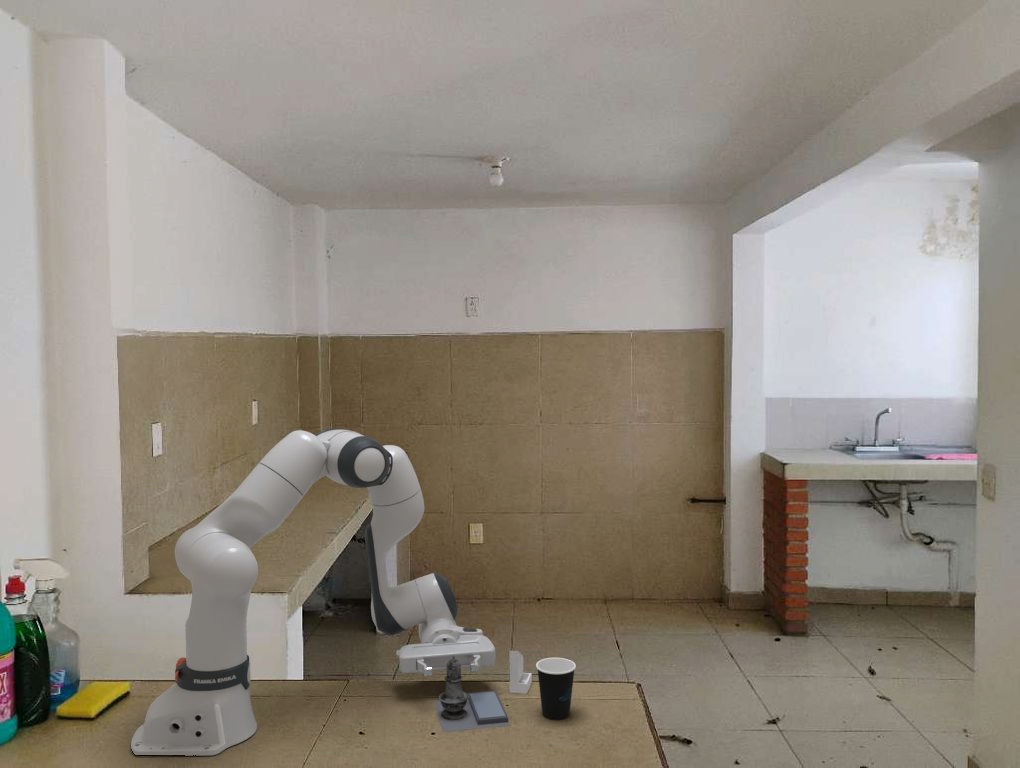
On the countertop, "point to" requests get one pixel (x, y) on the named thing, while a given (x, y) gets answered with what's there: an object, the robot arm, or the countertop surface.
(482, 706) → the phone
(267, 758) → the countertop surface
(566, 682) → the dixie cup
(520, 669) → the white angled block
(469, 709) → the mat
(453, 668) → the stone finial ornament
